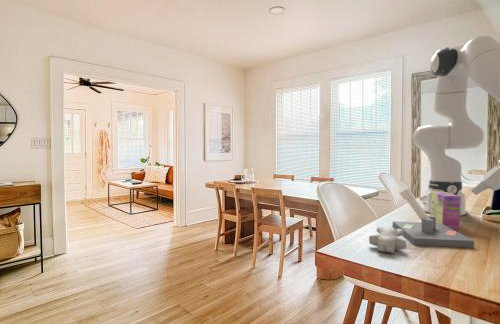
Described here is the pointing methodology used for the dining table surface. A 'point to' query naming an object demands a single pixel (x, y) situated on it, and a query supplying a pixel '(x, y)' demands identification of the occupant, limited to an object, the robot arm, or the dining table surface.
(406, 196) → the breaker lever
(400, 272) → the dining table surface
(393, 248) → the bunny figurine
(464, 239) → the breaker panel
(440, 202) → the box
